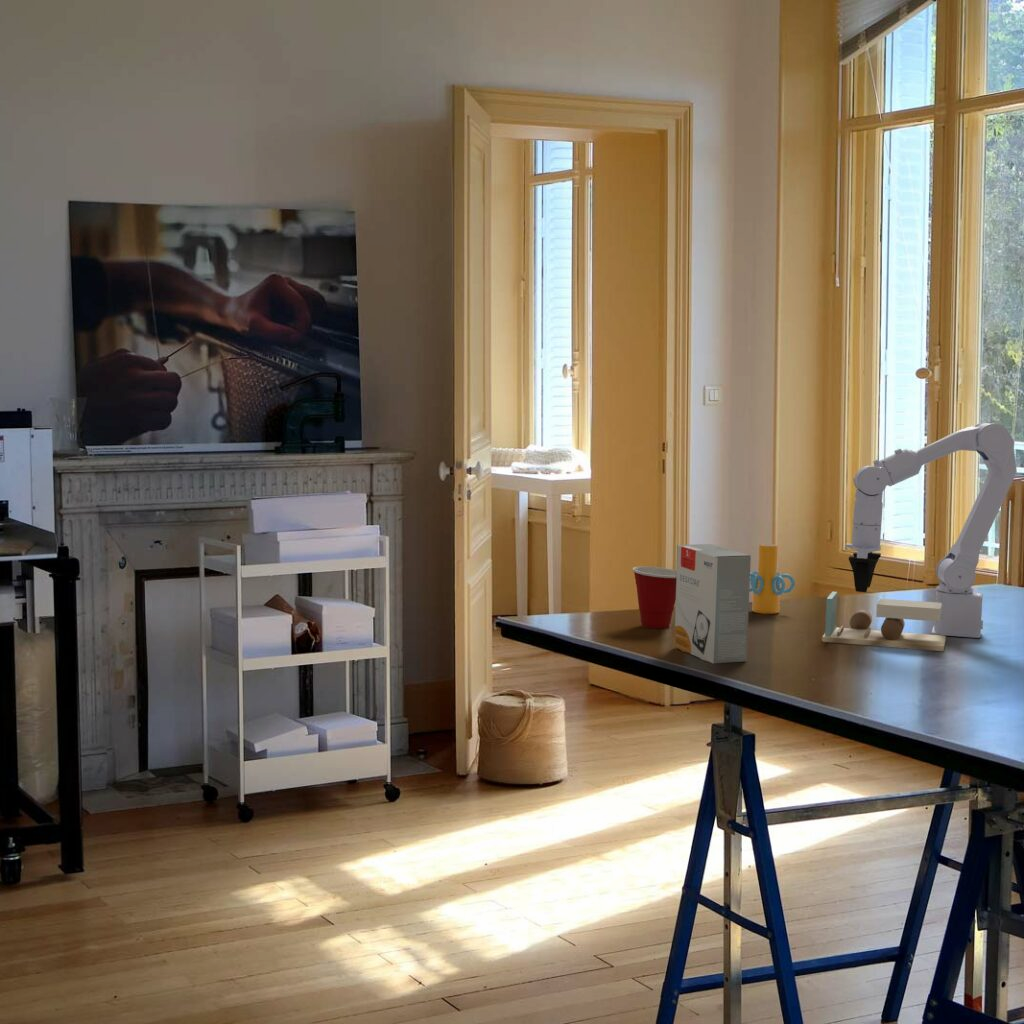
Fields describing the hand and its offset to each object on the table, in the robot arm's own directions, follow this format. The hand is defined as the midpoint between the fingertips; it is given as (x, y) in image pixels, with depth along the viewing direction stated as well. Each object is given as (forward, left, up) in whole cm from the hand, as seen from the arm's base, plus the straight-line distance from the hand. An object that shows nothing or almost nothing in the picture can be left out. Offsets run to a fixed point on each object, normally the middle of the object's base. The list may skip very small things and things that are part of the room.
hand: (862, 589), depth 294 cm
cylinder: (+22, -14, -9) cm, 27 cm away
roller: (0, 0, -9) cm, 9 cm away
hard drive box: (+24, +40, -9) cm, 47 cm away
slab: (-10, +11, -3) cm, 15 cm away
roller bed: (-6, +11, -9) cm, 15 cm away
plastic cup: (+40, +15, -9) cm, 44 cm away
